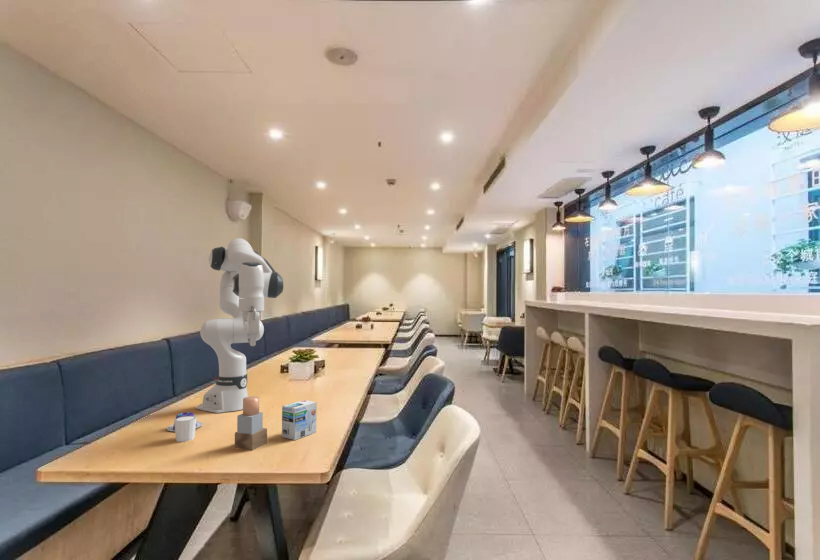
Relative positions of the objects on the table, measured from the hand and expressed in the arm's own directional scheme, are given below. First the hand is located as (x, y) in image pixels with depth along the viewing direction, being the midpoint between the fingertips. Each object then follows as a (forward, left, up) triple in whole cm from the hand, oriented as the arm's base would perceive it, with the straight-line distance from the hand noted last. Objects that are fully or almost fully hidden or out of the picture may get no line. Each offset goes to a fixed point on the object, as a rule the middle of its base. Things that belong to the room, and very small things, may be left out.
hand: (251, 344), depth 156 cm
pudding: (-27, -4, -32) cm, 42 cm away
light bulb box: (+19, +2, -31) cm, 37 cm away
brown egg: (+10, -12, -21) cm, 26 cm away
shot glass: (-16, -14, -31) cm, 38 cm away
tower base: (+10, -12, -31) cm, 35 cm away
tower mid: (+10, -13, -26) cm, 31 cm away
